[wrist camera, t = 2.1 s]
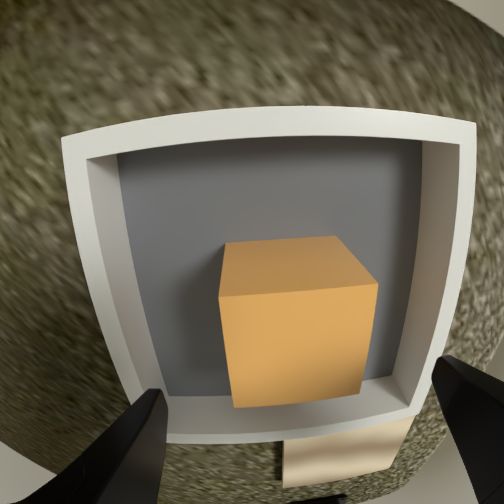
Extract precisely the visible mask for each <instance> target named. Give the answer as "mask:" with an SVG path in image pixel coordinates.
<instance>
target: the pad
mask: <svg viewBox="0 0 504 504" xmlns="http://www.w3.org/2000/svg"><path fill="white" fill-rule="evenodd" d="M414 417H415V415H413V416H410V417H406V418H402V419H399V420H395V421H391V422H387V423H383V424H379V425H375V426H370V427H366V428H361V429H356V430H351V431H346V432H340V433H334V434H328V435H322V436H315V437H308V438H300V439H292V440H283V453H282V484H283V488H288V487H297V486H305V485H312V484H318V483H325V482H330V481H336V480H341V479H346V478H351V477H355V476H360V475H364V474H368V473H372V472H376V471H380V470H384V469H387V468H389V467H390V466H391V464H392V462H393V460H394V458H395V456H396V454H397V452H398V450H399V449H400V447H401V445H402V443H403V440H404V438H405V436H406V434H407V432H408V430H409V428H410V426H411V424H412V421H413V419H414Z"/></svg>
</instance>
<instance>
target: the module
mask: <svg viewBox="0 0 504 504" xmlns="http://www.w3.org/2000/svg"><path fill="white" fill-rule="evenodd" d="M377 291H378V282H377V281H376V280H375V279H374V278H373V277H372V275H371V274H370V273H369V272H368V271H367V270H366V269H365V267H364V266H363V265H362V264H361V263H360V262H359V261H358V260H357V258H356V257H355V256H354V255H353V254H352V253H351V252H350V251H349V250H348V248H347V247H346V246H345V245H344V244H343V243H342V242H341V241H340V240H339V239H338V238H337V236H322V237H306V238H291V239H276V240H261V241H246V242H232V243H226V244H225V251H224V258H223V266H222V273H221V281H220V289H219V296H218V298H219V306H220V313H221V321H222V329H223V336H224V344H225V351H226V358H227V365H228V372H229V379H230V385H231V392H232V399H233V405H234V408H245V407H261V406H273V405H284V404H294V403H303V402H311V401H318V400H325V399H332V398H338V397H345V396H350V395H356V394H360V389H361V385H362V380H363V375H364V371H365V366H366V361H367V355H368V350H369V344H370V339H371V333H372V327H373V320H374V313H375V306H376V299H377Z"/></svg>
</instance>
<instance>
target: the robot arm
mask: <svg viewBox="0 0 504 504" xmlns="http://www.w3.org/2000/svg"><path fill="white" fill-rule="evenodd" d="M431 380H432V384H433V386H434V389H435V392H436V395H437V398H438V401H439V404H440V407H441V410H442V413H443V415H444V418H445V420H446V422H447V425H448V427H449V429H450V431H451V433H452V436H453V438H454V441H455V443H456V445H457V448H458V450H459V453H460V455H461V458H462V460H463V463H464V465H465V468H466V470H467V473H468V476H469V478H470V481H471V483H472V486H473V489H474V492H475V495H476V498H477V500H478V503H479V504H504V382H503V381H501V380H499V379H497V378H494V377H493V376H491V375H489V374H486V373H485V372H483V371H481V370H479V369H477V368H475V367H473V366H471V365H469V364H467V363H465V362H463V361H461V360H459V359H457V358H455V357H453V356H451V355H443V356H440V357H438V358H437V360H436V363H435V366H434V368H433V371H432V374H431ZM167 425H168V405H167V402H166V399H165V397H164V394H163V391H162V390H161V389H159V388H149V389H147V390H146V391H145V392H144V393H143V394H142V395H141V396H140V397H139V398H138V399H137V400H136V401H135V402H134V403H133V404H132V405H131V406H130V407H129V408H128V409H127V410H126V411H125V412H124V413H123V414H122V415H121V416H120V417H119V418H118V419H117V420H116V421H115V422H114V423H113V424H112V425H111V426H110V427H109V428H108V429H106V430H105V431H104V432H103V433H102V434H101V435H100V436H99V437H98V438H97V439H96V440H95V441H94V442H93V443H92V444H91V445H90V446H89V447H88V448H87V449H86V450H85V451H84V452H83V453H82V454H81V455H82V456H81V455H79V456H78V457H77V458H76V459H75V460H74V461H73V462H72V463H71V464H70V465H69V466H68V467H66V468H65V469H64V470H63V471H62V472H61V473H59V474H58V475H57V476H56V477H54V478H53V479H52V480H50V481H49V482H48V483H46V484H45V485H43V486H42V487H41V488H39V489H38V490H37V491H35V492H34V493H32V494H31V495H30V496H28V497H26V498H25V499H23V500H21V501H18V502H16V503H11V504H157V498H158V492H159V486H160V481H161V475H162V470H163V465H164V459H165V453H166V440H167ZM346 500H347V495H340V496H335V497H330V498H324V499H318V500H312V501H304V502H297V503H290V504H345V502H346Z"/></svg>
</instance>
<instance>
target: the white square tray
mask: <svg viewBox="0 0 504 504" xmlns="http://www.w3.org/2000/svg"><path fill="white" fill-rule="evenodd" d="M61 141H62V152H63V161H64V169H65V177H66V184H67V191H68V197H69V203H70V209H71V215H72V220H73V225H74V230H75V235H76V240H77V244H78V249H79V253H80V257H81V261H82V265H83V269H84V273H85V277H86V281H87V284H88V288H89V292H90V295H91V298H92V302H93V305H94V308H95V312H96V315H97V318H98V321H99V324H100V327H101V330H102V333H103V336H104V339H105V342H106V344H107V347H108V350H109V353H110V355H111V358H112V361H113V363H114V366H115V368H116V371H117V373H118V376H119V378H120V381H121V383H122V386H123V388H124V390H125V393H126V395H127V397H128V400H129V402H130V404H131V405H132V404H133V403H134V402H135V401H136V400H137V399H138V398H139V397H140V396H141V395H142V394H143V393H144V392H145V391H146V390H147V389H149V388H159V389H161V390H162V391H163V394H164V397H165V399H166V402H167V405H168V425H167V440H166V443H182V444H238V443H257V442H271V441H282V440H292V439H300V438H308V437H315V436H322V435H328V434H334V433H340V432H346V431H351V430H356V429H361V428H366V427H370V426H375V425H379V424H383V423H387V422H391V421H395V420H399V419H402V418H406V417H410V416H413V415H416V414H419V412H420V410H421V408H422V405H423V403H424V401H425V398H426V396H427V393H428V391H429V388H430V386H431V383H432V380H431V374H432V371H433V368H434V366H435V363H436V360H437V358H438V357H440V356H441V355H442V352H443V349H444V346H445V343H446V340H447V336H448V333H449V330H450V326H451V323H452V319H453V315H454V312H455V308H456V304H457V300H458V296H459V291H460V287H461V282H462V277H463V272H464V267H465V262H466V256H467V251H468V244H469V238H470V230H471V223H472V214H473V204H474V192H475V177H476V123H473V122H468V121H463V120H458V119H452V118H446V117H440V116H434V115H427V114H419V113H412V112H403V111H394V110H383V109H371V108H356V107H334V106H272V107H250V108H234V109H222V110H211V111H201V112H192V113H184V114H176V115H169V116H162V117H156V118H149V119H143V120H138V121H132V122H127V123H122V124H117V125H112V126H107V127H103V128H98V129H94V130H89V131H85V132H81V133H77V134H73V135H69V136H66V137H62V138H61ZM322 236H337V238H338V239H339V240H340V241H341V242H342V243H343V244H344V245H345V246H346V247H347V248H348V250H349V251H350V252H351V253H352V254H353V255H354V256H355V257H356V258H357V260H358V261H359V262H360V263H361V264H362V265H363V266H364V267H365V269H366V270H367V271H368V272H369V273H370V274H371V275H372V277H373V278H374V279H375V280H376V281H377V282H378V291H377V299H376V306H375V313H374V320H373V327H372V333H371V339H370V344H369V350H368V355H367V361H366V366H365V371H364V375H363V380H362V385H361V389H360V394H356V395H350V396H345V397H338V398H332V399H325V400H318V401H311V402H303V403H294V404H284V405H273V406H261V407H245V408H234V405H233V399H232V392H231V385H230V379H229V372H228V365H227V358H226V351H225V344H224V336H223V329H222V321H221V313H220V306H219V298H218V296H219V289H220V281H221V273H222V266H223V258H224V251H225V244H226V243H232V242H246V241H261V240H276V239H291V238H306V237H322Z"/></svg>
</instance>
